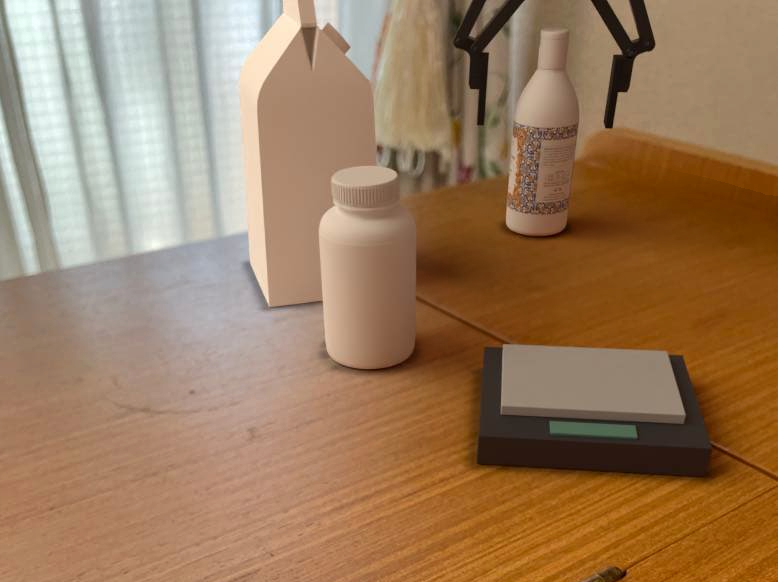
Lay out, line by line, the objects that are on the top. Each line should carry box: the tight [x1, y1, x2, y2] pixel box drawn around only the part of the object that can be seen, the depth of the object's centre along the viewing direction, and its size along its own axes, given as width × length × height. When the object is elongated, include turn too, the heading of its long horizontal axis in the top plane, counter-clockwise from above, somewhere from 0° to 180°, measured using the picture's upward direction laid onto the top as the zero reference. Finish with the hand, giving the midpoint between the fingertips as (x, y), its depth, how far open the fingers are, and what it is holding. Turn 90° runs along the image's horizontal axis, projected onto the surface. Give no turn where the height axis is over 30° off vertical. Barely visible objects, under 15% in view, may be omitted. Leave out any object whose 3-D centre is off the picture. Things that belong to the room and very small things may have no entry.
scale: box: [476, 343, 713, 478], centre depth 66 cm, size 16×14×3 cm
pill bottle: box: [319, 165, 417, 370], centre depth 72 cm, size 8×8×15 cm
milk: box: [238, 0, 378, 308], centre depth 82 cm, size 12×12×26 cm
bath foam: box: [505, 27, 580, 237], centre depth 95 cm, size 7×7×20 cm
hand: (543, 124), depth 94 cm, fingers open, 13 cm apart
